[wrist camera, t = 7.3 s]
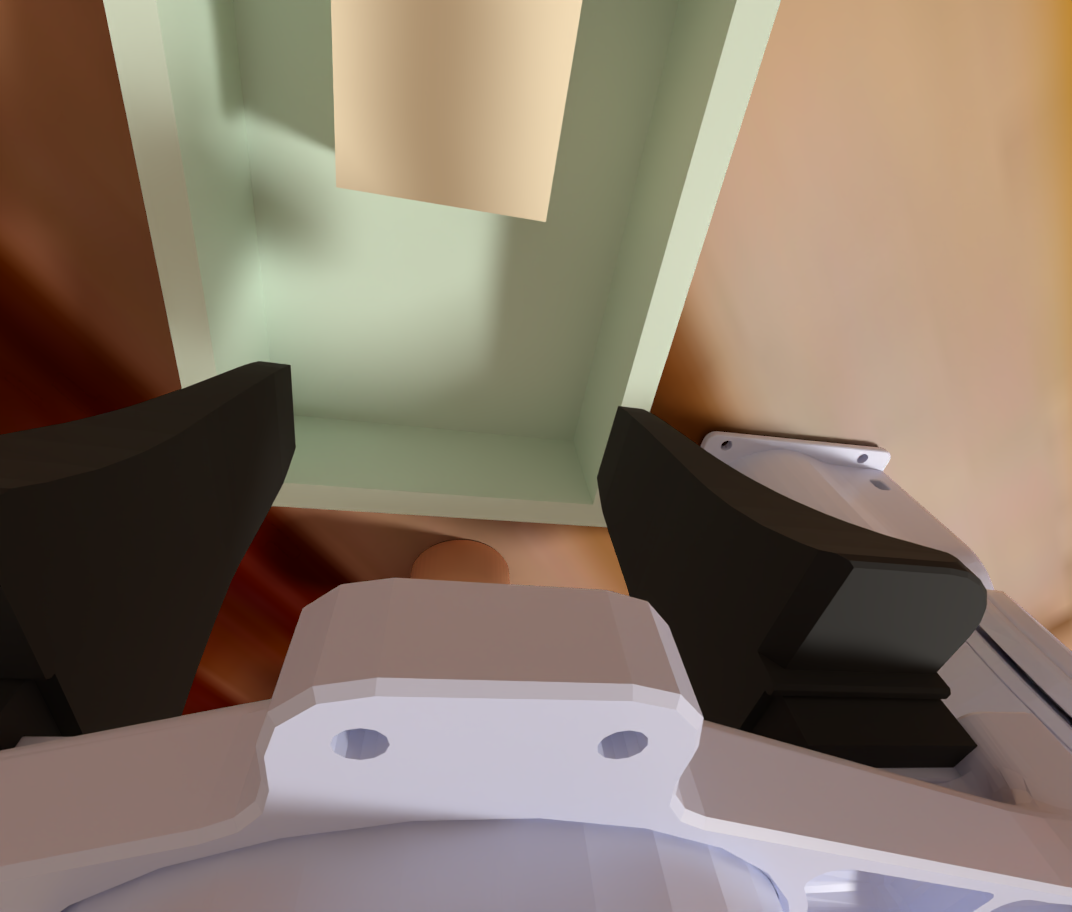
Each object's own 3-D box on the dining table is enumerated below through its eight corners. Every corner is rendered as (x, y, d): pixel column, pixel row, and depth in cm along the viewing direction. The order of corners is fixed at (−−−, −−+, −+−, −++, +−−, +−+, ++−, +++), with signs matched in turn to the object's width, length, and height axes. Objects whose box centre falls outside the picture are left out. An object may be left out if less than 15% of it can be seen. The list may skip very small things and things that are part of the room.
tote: (731, -93, 15) (835, -173, 10) (588, 454, 24) (612, 527, 20) (169, -258, 12) (11, -448, 8) (255, 425, 22) (204, 501, 17)
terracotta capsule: (514, 542, 26) (525, 665, 21) (503, 610, 29) (509, 736, 23) (412, 537, 26) (392, 663, 20) (409, 607, 28) (392, 737, 22)
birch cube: (556, -2, 15) (589, -44, 11) (527, 194, 17) (545, 222, 13) (370, -47, 14) (327, -113, 10) (369, 167, 17) (335, 187, 12)
